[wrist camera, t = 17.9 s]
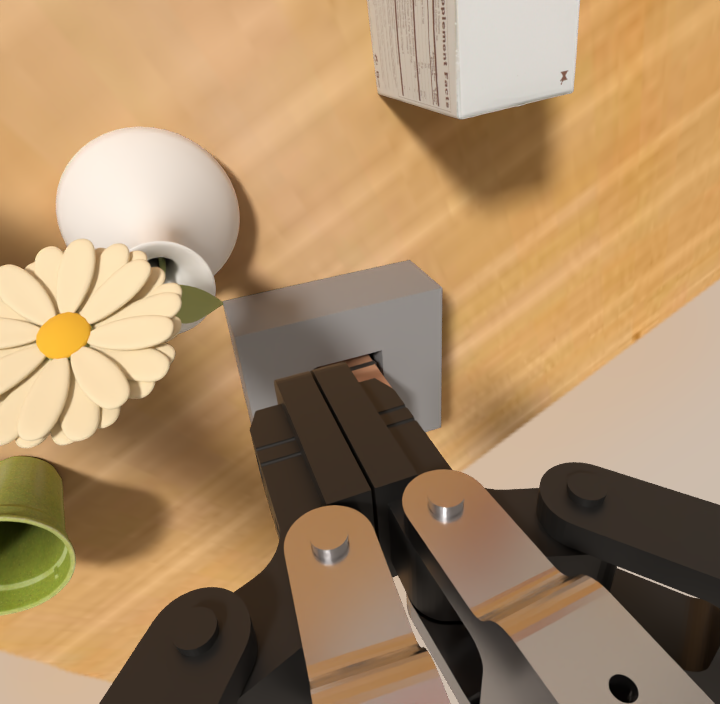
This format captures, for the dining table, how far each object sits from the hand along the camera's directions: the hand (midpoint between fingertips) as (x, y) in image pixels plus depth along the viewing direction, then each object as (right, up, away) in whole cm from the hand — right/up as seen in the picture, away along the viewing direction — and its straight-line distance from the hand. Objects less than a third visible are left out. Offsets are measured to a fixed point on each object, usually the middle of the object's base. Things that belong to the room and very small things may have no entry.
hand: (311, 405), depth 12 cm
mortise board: (-2, +1, +37) cm, 37 cm away
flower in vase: (-14, +11, +26) cm, 32 cm away
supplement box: (+5, +24, +27) cm, 36 cm away
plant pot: (-27, -9, +33) cm, 44 cm away
